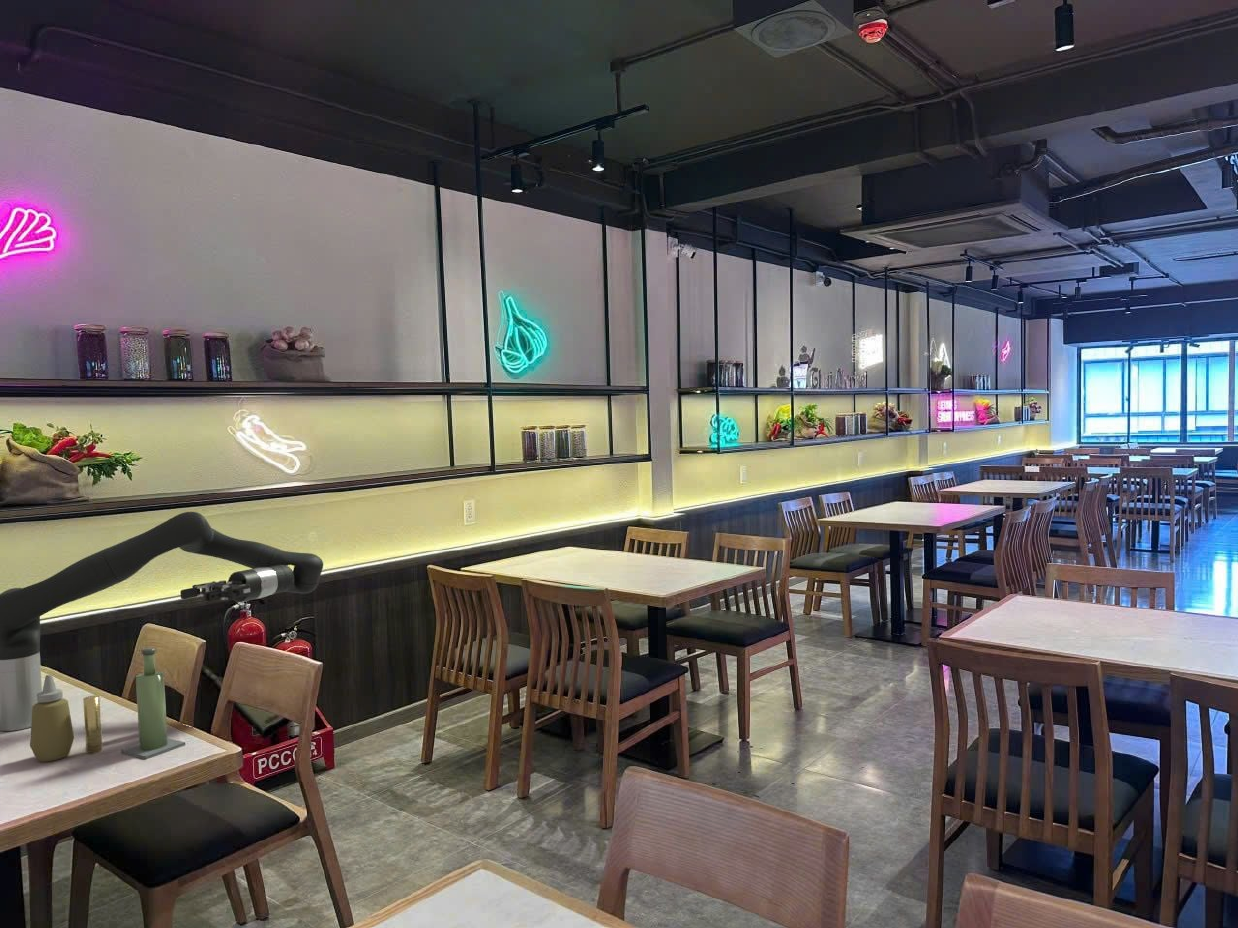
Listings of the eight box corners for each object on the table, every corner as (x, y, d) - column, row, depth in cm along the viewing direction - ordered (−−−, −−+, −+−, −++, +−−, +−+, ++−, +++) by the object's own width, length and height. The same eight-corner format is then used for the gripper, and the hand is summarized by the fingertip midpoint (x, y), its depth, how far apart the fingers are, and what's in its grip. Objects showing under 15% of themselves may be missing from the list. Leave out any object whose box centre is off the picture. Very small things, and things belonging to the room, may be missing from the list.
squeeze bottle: (47, 766, 177) (43, 682, 176) (21, 762, 180) (16, 679, 179) (84, 752, 184) (79, 671, 184) (58, 748, 187) (53, 669, 187)
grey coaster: (121, 752, 183) (121, 749, 183) (160, 738, 191) (160, 736, 191) (146, 759, 179) (145, 756, 179) (185, 744, 187) (185, 742, 187)
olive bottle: (134, 748, 184) (129, 650, 184) (158, 739, 189) (152, 645, 188) (149, 751, 182) (143, 653, 181) (172, 743, 186) (167, 647, 186)
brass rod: (83, 752, 184) (80, 698, 184) (97, 747, 187) (94, 694, 187) (91, 754, 183) (88, 700, 182) (105, 749, 186) (102, 696, 185)
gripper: (233, 567, 211) (173, 578, 197) (271, 570, 204) (211, 581, 190) (235, 597, 212) (174, 609, 197) (273, 600, 205) (213, 614, 191)
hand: (192, 595), depth 194 cm, fingers open, 8 cm apart
